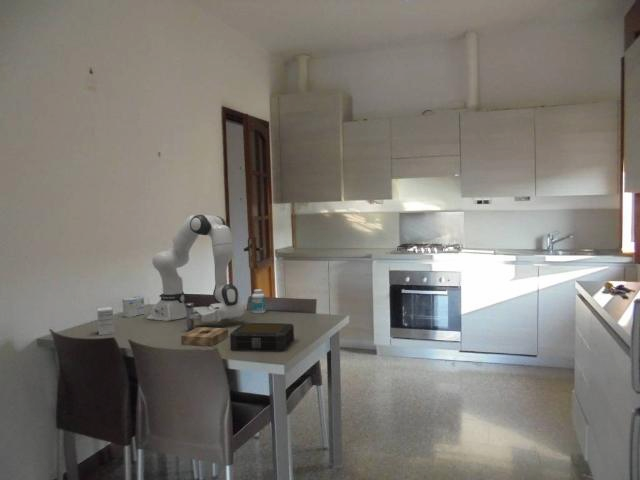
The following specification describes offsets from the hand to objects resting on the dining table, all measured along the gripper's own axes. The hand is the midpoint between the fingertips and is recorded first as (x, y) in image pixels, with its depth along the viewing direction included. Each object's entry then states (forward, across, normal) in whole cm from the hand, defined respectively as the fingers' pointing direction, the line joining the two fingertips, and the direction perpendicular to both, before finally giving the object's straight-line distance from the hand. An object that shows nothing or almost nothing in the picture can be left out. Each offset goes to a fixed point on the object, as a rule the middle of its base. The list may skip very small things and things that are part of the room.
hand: (188, 315), depth 249 cm
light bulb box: (+18, -56, +8) cm, 59 cm away
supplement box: (+36, -23, +8) cm, 44 cm away
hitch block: (-2, +21, +8) cm, 23 cm away
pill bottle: (-46, -18, +8) cm, 49 cm away
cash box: (-23, +44, +8) cm, 50 cm away
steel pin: (-1, 0, +8) cm, 8 cm away
